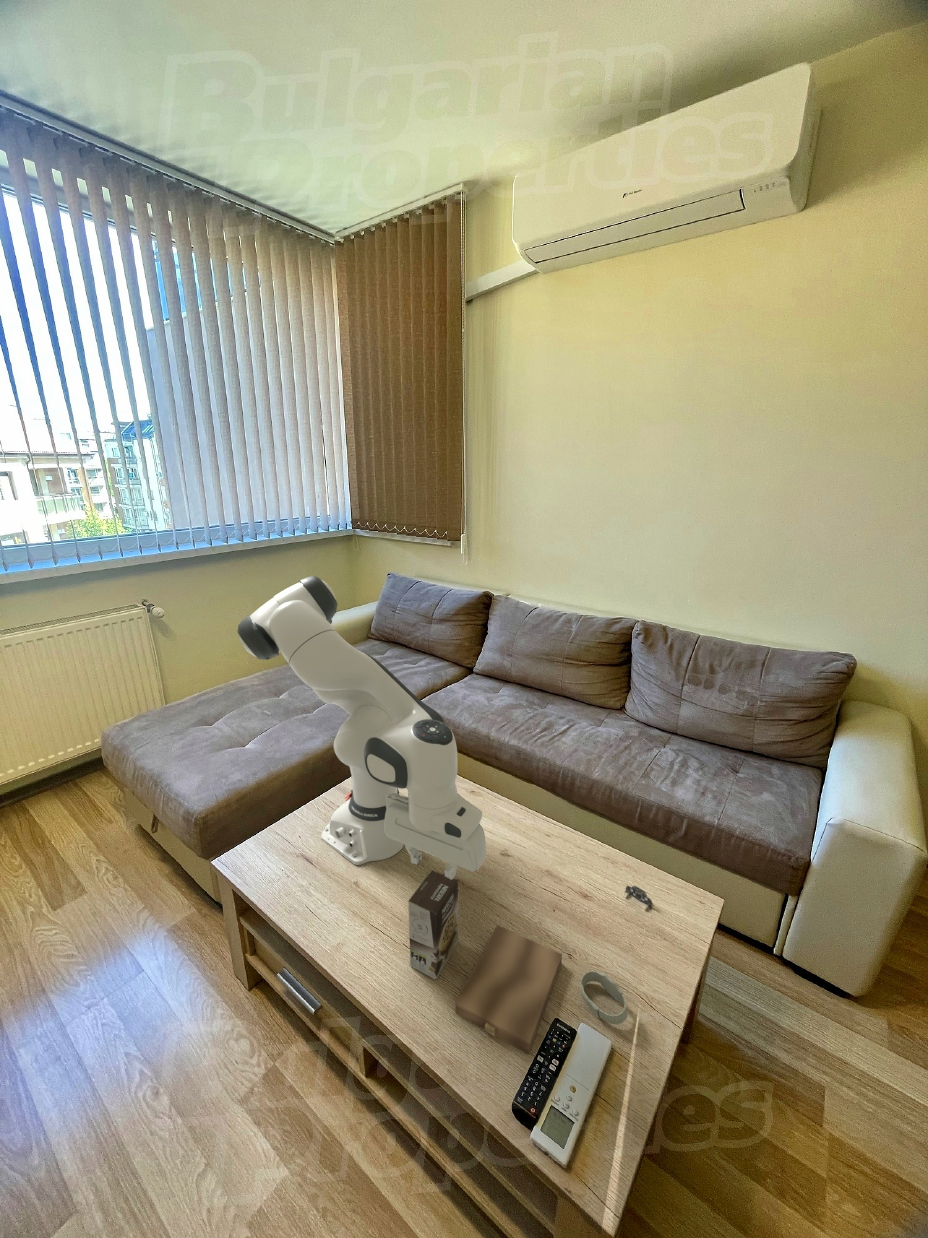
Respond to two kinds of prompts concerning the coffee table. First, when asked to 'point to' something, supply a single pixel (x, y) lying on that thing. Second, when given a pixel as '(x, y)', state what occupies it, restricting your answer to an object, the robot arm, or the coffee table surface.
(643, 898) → the dark grey irregular piece
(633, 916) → the coffee table surface
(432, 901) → the coffee box
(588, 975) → the grey oval ring piece
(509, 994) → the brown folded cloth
